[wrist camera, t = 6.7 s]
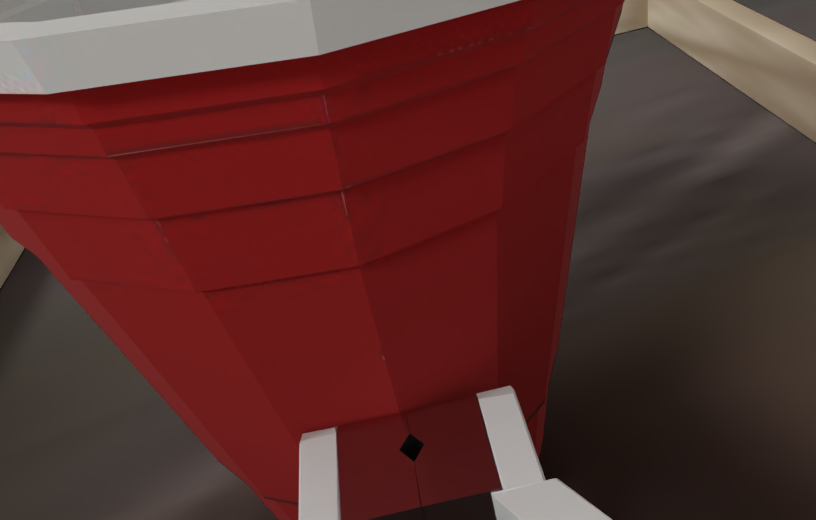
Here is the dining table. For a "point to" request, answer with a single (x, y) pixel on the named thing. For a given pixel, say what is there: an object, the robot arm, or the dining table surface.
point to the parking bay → (708, 44)
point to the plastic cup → (305, 199)
